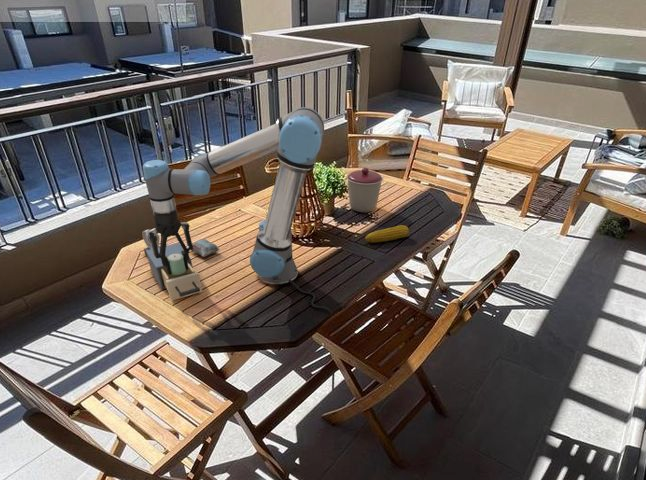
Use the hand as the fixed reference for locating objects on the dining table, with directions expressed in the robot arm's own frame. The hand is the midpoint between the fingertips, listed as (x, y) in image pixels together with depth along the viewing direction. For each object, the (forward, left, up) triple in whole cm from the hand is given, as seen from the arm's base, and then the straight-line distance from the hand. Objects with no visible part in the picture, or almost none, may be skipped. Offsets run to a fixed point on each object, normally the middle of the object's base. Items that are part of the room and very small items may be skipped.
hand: (177, 270), depth 160 cm
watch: (+32, -4, -9) cm, 34 cm away
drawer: (-2, 0, -8) cm, 8 cm away
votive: (0, 0, 0) cm, 0 cm away
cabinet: (+12, -2, -9) cm, 15 cm away
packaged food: (+20, -20, -9) cm, 30 cm away
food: (-23, -88, -9) cm, 92 cm away
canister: (+9, -105, -9) cm, 106 cm away
